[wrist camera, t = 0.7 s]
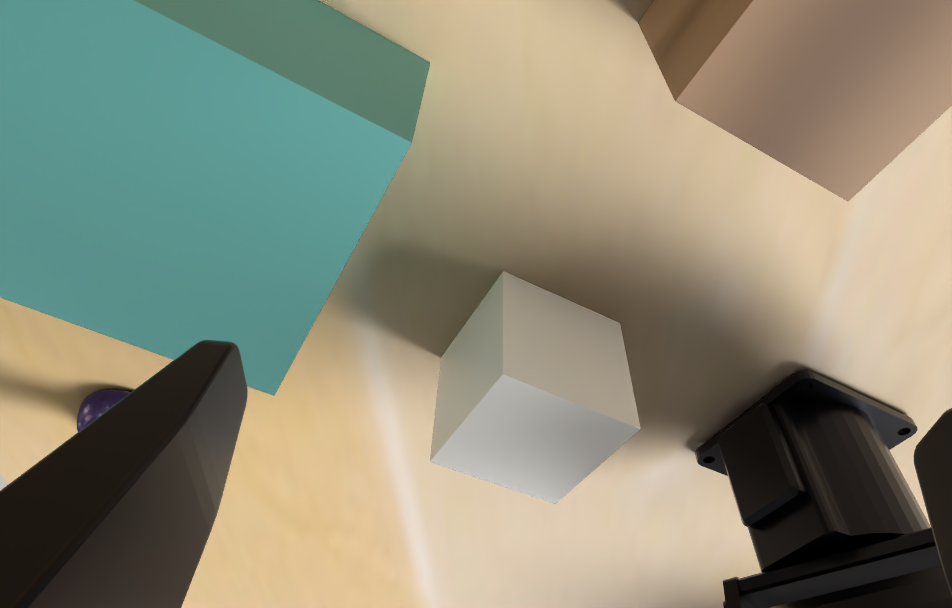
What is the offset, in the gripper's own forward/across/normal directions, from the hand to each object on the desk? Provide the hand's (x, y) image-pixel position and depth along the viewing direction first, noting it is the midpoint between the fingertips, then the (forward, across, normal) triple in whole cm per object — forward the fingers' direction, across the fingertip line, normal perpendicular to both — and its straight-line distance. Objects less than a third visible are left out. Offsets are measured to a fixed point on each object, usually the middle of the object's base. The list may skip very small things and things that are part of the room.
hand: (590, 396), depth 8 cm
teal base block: (+13, +10, +3) cm, 16 cm away
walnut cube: (+13, -6, -2) cm, 14 cm away
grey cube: (+13, -1, +11) cm, 17 cm away
